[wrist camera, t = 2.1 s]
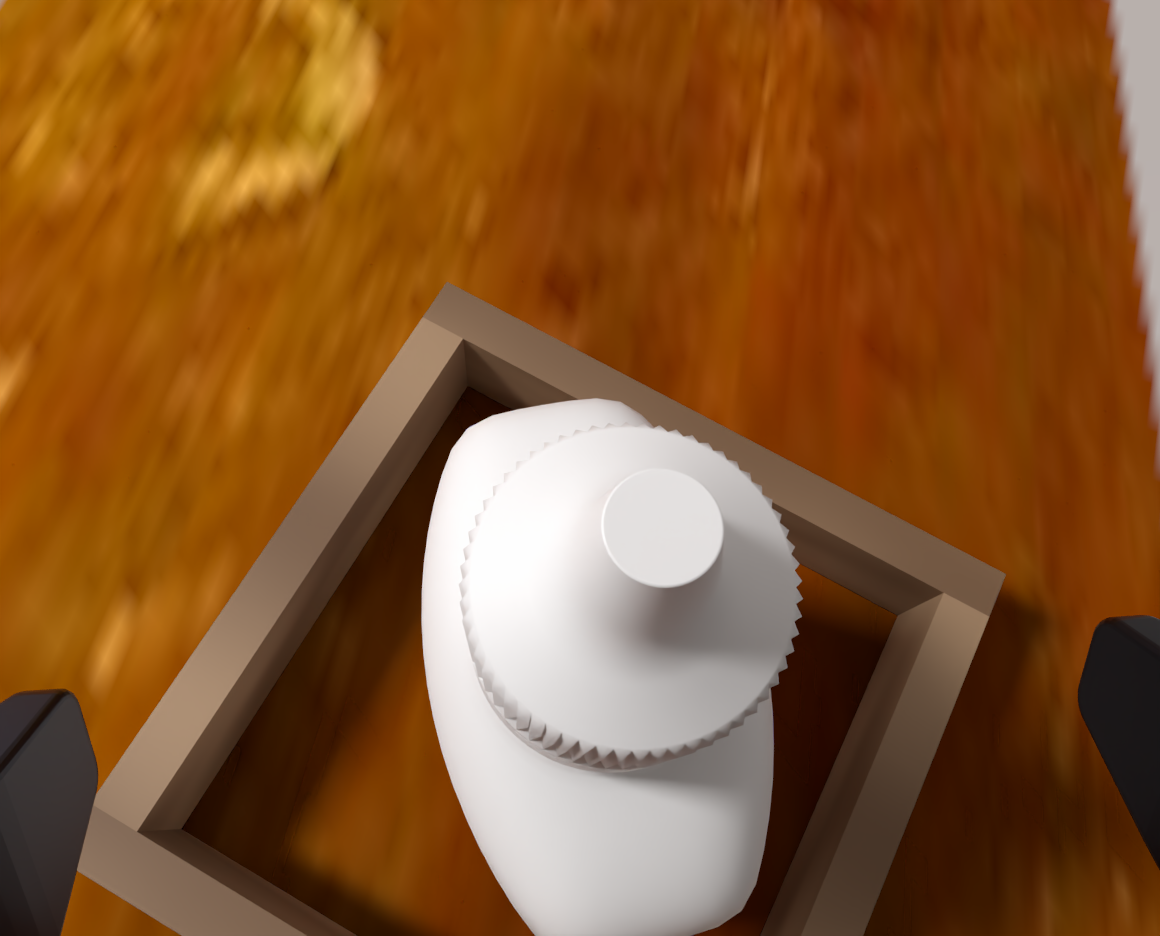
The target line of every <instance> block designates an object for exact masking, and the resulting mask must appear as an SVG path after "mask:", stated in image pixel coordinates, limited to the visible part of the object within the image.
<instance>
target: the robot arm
mask: <svg viewBox="0 0 1160 936" xmlns="http://www.w3.org/2000/svg"><path fill="white" fill-rule="evenodd" d="M1078 703H1079V708H1080V712H1081V715H1082V717H1083V719H1084V721H1085V723H1086V725H1087V728H1088V730H1089V732H1090V734H1091V736H1092V738H1093V740H1094V742H1095V744H1096V746H1097V748H1098V750H1099V752H1100V754H1101V756H1102V758H1103V760H1104V762H1105V764H1106V766H1107V768H1108V770H1109V772H1110V774H1111V776H1112V778H1113V780H1114V782H1115V784H1116V786H1117V788H1118V790H1119V792H1120V794H1121V796H1122V798H1123V800H1124V802H1125V804H1126V806H1127V808H1128V810H1129V812H1130V814H1131V816H1132V818H1133V820H1134V822H1135V824H1136V826H1137V828H1138V830H1139V832H1140V834H1141V836H1142V838H1143V840H1144V842H1145V844H1146V846H1147V848H1148V849H1149V851H1150V853H1151V855H1152V857H1153V859H1154V861H1155V863H1156V864H1157V866H1158V868H1159V870H1160V620H1159V619H1157V618H1155V617H1152V616H1147V615H1135V616H1121V617H1109V618H1106V619H1104V620H1102V621H1101V622H1100V623H1099V624H1098V625H1097V627H1096V628H1095V631H1094V634H1093V637H1092V641H1091V644H1090V648H1089V651H1088V655H1087V658H1086V662H1085V665H1084V669H1083V672H1082V676H1081V680H1080V683H1079V687H1078ZM97 784H98V768H97V762H96V758H95V755H94V751H93V748H92V745H91V741H90V738H89V735H88V731H87V728H86V725H85V721H84V718H83V715H82V711H81V708H80V705H79V702H78V700H77V698H76V697H75V695H74V694H73V693H72V692H70V691H68V690H66V689H49V690H34V691H23V692H19V693H16V694H14V695H12V696H11V697H9V698H8V699H6V700H5V701H3V702H2V703H0V936H60V935H61V931H62V927H63V923H64V919H65V915H66V911H67V907H68V904H69V900H70V896H71V892H72V888H73V884H74V880H75V876H76V872H77V868H78V864H79V860H80V856H81V852H82V848H83V844H84V840H85V836H86V832H87V828H88V824H89V820H90V816H91V812H92V808H93V804H94V800H95V796H96V791H97Z"/></svg>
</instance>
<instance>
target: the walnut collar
mask: <svg viewBox="0 0 1160 936" xmlns="http://www.w3.org/2000/svg"><path fill="white" fill-rule="evenodd" d="M467 386H469V387H471V388H473V389H474V390H476V391H478V392H480V393H482V394H484V395H486V396H488V397H489V398H491V399H493V400H495V401H497V402H499V403H501V404H503V405H504V406H506V407H508V408H510V409H512V410H517V409H522V408H528V407H534V406H539V405H545V404H551V403H558V402H564V401H571V400H582V399H593V398H598V399H605V400H612V401H619V402H622V403H623V404H625V405H627V406H628V407H630V408H631V409H633V410H635V411H636V412H638V413H640V414H641V415H642V416H643V417H644V418H645V419H646V420H647V421H648V422H649V423H650V424H651V425H652V426H653V427H654V428H655V427H657V426H661V427H662V428H664V429H665V430H666V431H667V432H670V431H673V430H677V431H678V432H679V433H680V434H681V435H682V436H683V437H685V436H692V435H693V436H694V438H695V439H696V440H697V441H698V443H709V445H710V446H711V448H712V450H713V451H723V452H724V455H725V457H726V459H727V460H731V461H736V462H737V463H738V466H739V469H740V470H741V471H745V472H748V473H750V476H751V481H752V482H754V483H756V484H758V485H761V486H762V494H763V495H764V496H766V497H768V498H770V499H772V509H774V510H775V511H777V512H778V513H780V514H781V519H780V523H781V524H782V525H783V526H784V527H786V528H787V529H788V530H789V532H788V535H787V537H786V538H787V539H788V540H789V541H790V542H791V543H792V544H793V545H794V546H795V548H794V550H793V552H792V556H793V557H794V558H795V559H796V560H797V561H798V563H800V564H802V565H804V566H806V567H808V568H810V569H812V570H813V571H815V572H817V573H819V574H821V575H823V576H825V577H826V578H828V579H830V580H832V581H834V582H836V583H838V584H840V585H841V586H843V587H845V588H847V589H849V590H851V591H853V592H855V593H856V594H858V595H860V596H862V597H864V598H866V599H868V600H870V601H871V602H873V603H875V604H877V605H879V606H881V607H883V608H885V609H886V610H888V611H890V612H892V613H894V614H896V615H898V616H897V619H896V621H895V623H894V626H893V628H892V630H891V633H890V635H889V637H888V640H887V642H886V644H885V647H884V649H883V651H882V654H881V656H880V658H879V661H878V663H877V665H876V667H875V670H874V672H873V674H872V677H871V679H870V681H869V684H868V686H867V688H866V691H865V693H864V695H863V698H862V700H861V702H860V705H859V707H858V709H857V712H856V714H855V716H854V719H853V721H852V723H851V726H850V728H849V730H848V733H847V735H846V737H845V740H844V742H843V744H842V747H841V749H840V751H839V753H838V756H837V758H836V760H835V763H834V765H833V767H832V770H831V772H830V774H829V777H828V779H827V781H826V784H825V786H824V788H823V791H822V793H821V795H820V798H819V800H818V802H817V805H816V807H815V809H814V812H813V814H812V816H811V819H810V821H809V823H808V826H807V828H806V830H805V833H804V835H803V837H802V839H801V842H800V844H799V846H798V849H797V851H796V853H795V856H794V858H793V860H792V863H791V865H790V867H789V870H788V872H787V874H786V877H785V879H784V881H783V884H782V886H781V888H780V891H779V893H778V895H777V898H776V900H775V902H774V905H773V907H772V909H771V912H770V914H769V916H768V919H767V921H766V923H765V926H764V928H763V930H762V932H761V935H760V936H863V934H864V932H865V929H866V927H867V924H868V922H869V919H870V917H871V914H872V912H873V909H874V907H875V904H876V902H877V899H878V897H879V894H880V892H881V889H882V886H883V884H884V881H885V879H886V876H887V874H888V871H889V869H890V866H891V864H892V861H893V859H894V856H895V854H896V851H897V849H898V846H899V844H900V841H901V838H902V836H903V833H904V831H905V828H906V826H907V823H908V821H909V818H910V816H911V813H912V811H913V808H914V806H915V803H916V801H917V798H918V796H919V793H920V790H921V788H922V785H923V783H924V780H925V778H926V775H927V773H928V770H929V768H930V765H931V763H932V760H933V758H934V755H935V753H936V750H937V748H938V745H939V742H940V740H941V737H942V735H943V732H944V730H945V727H946V725H947V722H948V720H949V717H950V715H951V712H952V710H953V707H954V705H955V702H956V700H957V697H958V694H959V692H960V689H961V687H962V684H963V682H964V679H965V677H966V674H967V672H968V669H969V667H970V664H971V662H972V659H973V657H974V654H975V652H976V649H977V646H978V644H979V641H980V639H981V636H982V634H983V631H984V629H985V626H986V624H987V621H988V619H989V616H990V614H991V611H992V609H993V606H994V604H995V601H996V598H997V596H998V593H999V591H1000V588H1001V586H1002V583H1003V581H1004V578H1005V576H1006V574H1005V573H1003V572H1001V571H999V570H997V569H995V568H993V567H991V566H989V565H987V564H985V563H984V562H982V561H980V560H978V559H976V558H974V557H972V556H970V555H968V554H966V553H964V552H963V551H961V550H959V549H957V548H955V547H953V546H951V545H949V544H947V543H945V542H943V541H941V540H940V539H938V538H936V537H934V536H932V535H930V534H928V533H926V532H924V531H922V530H920V529H919V528H917V527H915V526H913V525H911V524H909V523H907V522H905V521H903V520H901V519H899V518H897V517H896V516H894V515H892V514H890V513H888V512H886V511H884V510H882V509H880V508H878V507H876V506H875V505H873V504H871V503H869V502H867V501H865V500H863V499H861V498H859V497H857V496H855V495H854V494H852V493H850V492H848V491H846V490H844V489H842V488H840V487H838V486H836V485H834V484H832V483H831V482H829V481H827V480H825V479H823V478H821V477H819V476H817V475H815V474H813V473H811V472H810V471H808V470H806V469H804V468H802V467H800V466H798V465H796V464H794V463H792V462H790V461H788V460H787V459H785V458H783V457H781V456H779V455H777V454H775V453H773V452H771V451H769V450H767V449H766V448H764V447H762V446H760V445H758V444H756V443H754V442H752V441H750V440H748V439H746V438H745V437H743V436H741V435H739V434H737V433H735V432H733V431H731V430H729V429H727V428H725V427H723V426H722V425H720V424H718V423H716V422H714V421H712V420H710V419H708V418H706V417H704V416H702V415H701V414H699V413H697V412H695V411H693V410H691V409H689V408H687V407H685V406H683V405H681V404H679V403H678V402H676V401H674V400H672V399H670V398H668V397H666V396H664V395H662V394H660V393H658V392H657V391H655V390H653V389H651V388H649V387H647V386H645V385H643V384H641V383H639V382H637V381H636V380H634V379H632V378H630V377H628V376H626V375H624V374H622V373H620V372H618V371H616V370H614V369H613V368H611V367H609V366H607V365H605V364H603V363H601V362H599V361H597V360H595V359H593V358H592V357H590V356H588V355H586V354H584V353H582V352H580V351H578V350H576V349H574V348H572V347H570V346H569V345H567V344H565V343H563V342H561V341H559V340H557V339H555V338H553V337H551V336H549V335H548V334H546V333H544V332H542V331H540V330H538V329H536V328H534V327H532V326H530V325H528V324H527V323H525V322H523V321H521V320H519V319H517V318H515V317H513V316H511V315H509V314H507V313H505V312H504V311H502V310H500V309H498V308H496V307H494V306H492V305H490V304H488V303H486V302H484V301H483V300H481V299H479V298H477V297H475V296H473V295H471V294H469V293H467V292H465V291H463V290H461V289H460V288H458V287H456V286H454V285H452V284H450V283H448V282H447V283H446V284H445V286H444V287H443V288H442V290H441V291H440V293H439V294H438V296H437V297H436V299H435V300H434V302H433V303H432V305H431V306H430V307H429V309H428V310H427V312H426V313H425V315H424V316H423V318H422V319H421V321H420V322H419V324H418V325H417V326H416V328H415V329H414V331H413V332H412V334H411V335H410V337H409V338H408V340H407V341H406V343H405V344H404V345H403V347H402V348H401V350H400V351H399V353H398V354H397V356H396V357H395V359H394V360H393V362H392V363H391V364H390V366H389V367H388V369H387V370H386V372H385V373H384V375H383V376H382V378H381V379H380V381H379V382H378V383H377V385H376V386H375V388H374V389H373V391H372V392H371V394H370V395H369V397H368V398H367V400H366V401H365V402H364V404H363V405H362V407H361V408H360V410H359V411H358V413H357V414H356V416H355V417H354V419H353V420H352V421H351V423H350V424H349V426H348V427H347V429H346V430H345V432H344V433H343V435H342V436H341V438H340V439H339V440H338V442H337V443H336V445H335V446H334V448H333V449H332V451H331V452H330V454H329V455H328V457H327V458H326V459H325V461H324V462H323V464H322V465H321V467H320V468H319V470H318V471H317V473H316V474H315V476H314V477H313V478H312V480H311V481H310V483H309V484H308V486H307V487H306V489H305V490H304V492H303V493H302V495H301V496H300V497H299V499H298V500H297V502H296V503H295V505H294V506H293V508H292V509H291V511H290V512H289V514H288V515H287V516H286V518H285V519H284V521H283V522H282V524H281V525H280V527H279V528H278V530H277V531H276V533H275V534H274V535H273V537H272V538H271V540H270V541H269V543H268V544H267V546H266V547H265V549H264V550H263V552H262V553H261V554H260V556H259V557H258V559H257V560H256V562H255V563H254V565H253V566H252V568H251V569H250V571H249V572H248V573H247V575H246V576H245V578H244V579H243V581H242V582H241V584H240V585H239V587H238V588H237V590H236V591H235V592H234V594H233V595H232V597H231V598H230V600H229V601H228V603H227V604H226V606H225V607H224V609H223V610H222V611H221V613H220V614H219V616H218V617H217V619H216V620H215V622H214V623H213V625H212V626H211V628H210V629H209V630H208V632H207V633H206V635H205V636H204V638H203V639H202V641H201V642H200V644H199V645H198V647H197V648H196V649H195V651H194V652H193V654H192V655H191V657H190V658H189V660H188V661H187V663H186V664H185V666H184V667H183V668H182V670H181V671H180V673H179V674H178V676H177V677H176V679H175V680H174V682H173V683H172V685H171V686H170V687H169V689H168V690H167V692H166V693H165V695H164V696H163V698H162V699H161V701H160V702H159V704H158V705H157V706H156V708H155V709H154V711H153V712H152V714H151V715H150V717H149V718H148V720H147V721H146V723H145V724H144V725H143V727H142V728H141V730H140V731H139V733H138V734H137V736H136V737H135V739H134V740H133V742H132V743H131V744H130V746H129V747H128V749H127V750H126V752H125V753H124V755H123V756H122V758H121V759H120V761H119V762H118V763H117V765H116V766H115V768H114V769H113V771H112V772H111V774H110V775H109V777H108V778H107V780H106V781H105V782H104V784H103V785H102V787H101V788H100V790H99V791H98V793H97V794H96V796H95V800H94V804H93V808H92V812H91V816H90V820H89V824H88V828H87V832H86V836H85V840H84V844H83V848H82V852H81V856H80V860H79V864H78V868H77V871H78V872H80V873H82V874H83V875H85V876H87V877H88V878H90V879H91V880H93V881H95V882H96V883H98V884H99V885H101V886H103V887H104V888H106V889H107V890H109V891H111V892H112V893H114V894H116V895H117V896H119V897H120V898H122V899H124V900H125V901H127V902H128V903H130V904H132V905H133V906H135V907H136V908H138V909H140V910H141V911H143V912H145V913H146V914H148V915H149V916H151V917H153V918H154V919H156V920H157V921H159V922H161V923H162V924H164V925H166V926H167V927H169V928H170V929H172V930H174V931H175V932H177V933H178V934H180V935H182V936H357V935H355V934H354V933H352V932H350V931H349V930H347V929H345V928H344V927H342V926H340V925H339V924H337V923H335V922H334V921H332V920H330V919H329V918H327V917H326V916H324V915H322V914H321V913H319V912H317V911H316V910H314V909H312V908H311V907H309V906H307V905H306V904H304V903H302V902H301V901H299V900H298V899H296V898H294V897H293V896H291V895H289V894H288V893H286V892H284V891H283V890H281V889H279V888H278V887H276V886H274V885H273V884H271V883H270V882H268V881H266V880H265V879H263V878H261V877H260V876H258V875H256V874H255V873H253V872H251V871H250V870H248V869H246V868H245V867H243V866H242V865H240V864H238V863H237V862H235V861H233V860H232V859H230V858H228V857H227V856H225V855H223V854H222V853H220V852H218V851H217V850H215V849H214V848H212V847H210V846H209V845H207V844H205V843H204V842H202V841H200V840H199V839H197V838H195V837H194V836H192V835H190V834H189V833H187V832H186V831H184V830H182V827H183V826H184V824H185V823H186V821H187V819H188V818H189V816H190V815H191V813H192V812H193V810H194V809H195V807H196V806H197V804H198V802H199V801H200V799H201V798H202V796H203V795H204V793H205V792H206V790H207V789H208V787H209V785H210V784H211V782H212V781H213V779H214V778H215V776H216V775H217V773H218V772H219V770H220V768H221V767H222V765H223V764H224V762H225V761H226V759H227V758H228V756H229V755H230V753H231V751H232V750H233V748H234V747H235V745H236V744H237V742H238V741H239V739H240V737H241V736H242V734H243V733H244V731H245V730H246V728H247V727H248V725H249V724H250V722H251V720H252V719H253V717H254V716H255V714H256V713H257V711H258V710H259V708H260V707H261V705H262V703H263V702H264V700H265V699H266V697H267V696H268V694H269V693H270V691H271V690H272V688H273V686H274V685H275V683H276V682H277V680H278V679H279V677H280V676H281V674H282V673H283V671H284V669H285V668H286V666H287V665H288V663H289V662H290V660H291V659H292V657H293V656H294V654H295V652H296V651H297V649H298V648H299V646H300V645H301V643H302V642H303V640H304V639H305V637H306V635H307V634H308V632H309V631H310V629H311V628H312V626H313V625H314V623H315V622H316V620H317V618H318V617H319V615H320V614H321V612H322V611H323V609H324V608H325V606H326V604H327V603H328V601H329V600H330V598H331V597H332V595H333V594H334V592H335V591H336V589H337V587H338V586H339V584H340V583H341V581H342V580H343V578H344V577H345V575H346V574H347V572H348V570H349V569H350V567H351V566H352V564H353V563H354V561H355V560H356V558H357V557H358V555H359V553H360V552H361V550H362V549H363V547H364V546H365V544H366V543H367V541H368V540H369V538H370V536H371V535H372V533H373V532H374V530H375V529H376V527H377V526H378V524H379V523H380V521H381V519H382V518H383V516H384V515H385V513H386V512H387V510H388V509H389V507H390V506H391V504H392V502H393V501H394V499H395V498H396V496H397V495H398V493H399V492H400V490H401V489H402V487H403V485H404V484H405V482H406V481H407V479H408V478H409V476H410V475H411V473H412V471H413V470H414V468H415V467H416V465H417V464H418V462H419V461H420V459H421V458H422V456H423V454H424V453H425V451H426V450H427V448H428V447H429V445H430V444H431V442H432V441H433V439H434V437H435V436H436V434H437V433H438V431H439V430H440V428H441V427H442V425H443V424H444V422H445V420H446V419H447V417H448V416H449V414H450V413H451V411H452V410H453V408H454V407H455V405H456V403H457V402H458V400H459V399H460V397H461V396H462V394H463V393H464V391H465V390H466V388H467Z"/></svg>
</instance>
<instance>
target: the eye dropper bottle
mask: <svg viewBox="0 0 1160 936" xmlns="http://www.w3.org/2000/svg"><path fill="white" fill-rule="evenodd" d="M780 519H781V514H780V513H778V512H777V511H775V510H774V509H772V499H770V498H768V497H766V496H764V495H763V494H762V486H761V485H758V484H756V483H754V482H752V481H751V476H750V473H748V472H745V471H741V470H740V469H739V466H738V463H737V462H736V461H731V460H727V459H726V457H725V455H724V452H723V451H713V450H712V448H711V446H710V445H709V443H698V441H697V440H696V439H695V438H694V436H693V435H692V436H685V437H683V436H682V435H681V434H680V433H679V432H678V431H677V430H673V431H670V432H667V431H666V430H665V429H664V428H662V427H661V426H657V427H655V428H654V427H653V426H652V425H651V424H650V423H649V422H648V421H647V420H646V419H645V418H644V417H643V416H642V415H641V414H640V413H638V412H636V411H635V410H633V409H631V408H630V407H628V406H627V405H625V404H623V403H622V402H619V401H612V400H605V399H598V398H593V399H582V400H571V401H564V402H558V403H551V404H545V405H539V406H534V407H528V408H522V409H517V410H513V411H509V412H505V413H501V414H497V415H492V416H490V417H488V418H486V419H484V420H482V421H480V422H479V423H477V424H475V425H473V426H471V427H469V428H468V429H467V430H466V431H465V432H464V434H463V435H462V436H461V437H460V439H459V440H458V441H457V443H456V444H455V445H454V447H453V448H452V450H451V452H450V455H449V457H448V460H447V463H446V465H445V468H444V470H443V473H442V476H441V479H440V483H439V487H438V490H437V494H436V497H435V501H434V505H433V510H432V515H431V520H430V524H429V529H428V536H427V543H426V550H425V557H424V568H423V581H422V639H423V655H424V663H425V671H426V679H427V687H428V692H429V698H430V703H431V708H432V713H433V719H434V723H435V727H436V731H437V734H438V738H439V742H440V746H441V750H442V753H443V757H444V760H445V763H446V766H447V769H448V772H449V775H450V778H451V781H452V784H453V787H454V789H455V792H456V794H457V797H458V799H459V802H460V804H461V807H462V809H463V812H464V815H465V817H466V819H467V821H468V824H469V826H470V828H471V830H472V832H473V834H474V837H475V839H476V841H477V843H478V845H479V848H480V849H481V851H482V853H483V855H484V857H485V859H486V861H487V863H488V864H489V866H490V868H491V870H492V872H493V874H494V876H495V877H496V879H497V881H498V882H499V884H500V886H501V887H502V889H503V891H504V892H505V894H506V895H507V897H508V899H509V900H510V902H511V903H512V905H513V907H514V908H515V910H516V911H517V912H518V914H519V915H520V916H521V918H522V919H523V920H524V921H525V923H526V924H527V925H528V927H529V928H530V929H531V931H532V932H533V933H534V935H535V936H691V935H694V934H698V933H701V932H704V931H707V930H710V929H713V928H716V927H719V926H720V925H721V924H723V923H724V922H726V921H727V920H729V919H730V918H732V917H733V916H735V915H736V914H738V913H739V912H741V911H742V909H743V908H744V906H745V904H746V902H747V900H748V898H749V896H750V895H751V893H752V891H753V889H754V887H755V885H756V883H757V878H758V874H759V870H760V865H761V861H762V857H763V853H764V847H765V841H766V835H767V828H768V822H769V816H770V806H771V795H772V785H773V759H774V736H773V709H772V698H771V687H773V686H775V685H778V684H779V677H778V673H779V672H781V671H783V670H785V669H787V668H788V667H787V662H786V656H787V655H789V654H790V653H792V652H794V648H793V645H792V641H791V639H792V638H794V637H795V636H797V635H798V634H799V632H798V630H797V627H796V624H795V621H796V620H798V619H799V618H801V617H802V615H801V613H800V611H799V609H798V607H797V605H796V604H797V603H798V602H799V601H801V600H802V599H803V598H802V596H801V595H800V593H799V591H798V589H797V588H796V587H797V586H798V585H799V584H800V583H801V582H802V580H801V579H800V577H799V576H798V575H797V573H796V572H795V569H796V568H797V567H798V565H799V563H798V561H797V560H796V559H795V558H794V557H793V556H792V552H793V550H794V548H795V546H794V545H793V544H792V543H791V542H790V541H789V540H788V539H787V538H786V537H787V535H788V532H789V530H788V529H787V528H786V527H784V526H783V525H782V524H781V523H780Z"/></svg>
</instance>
